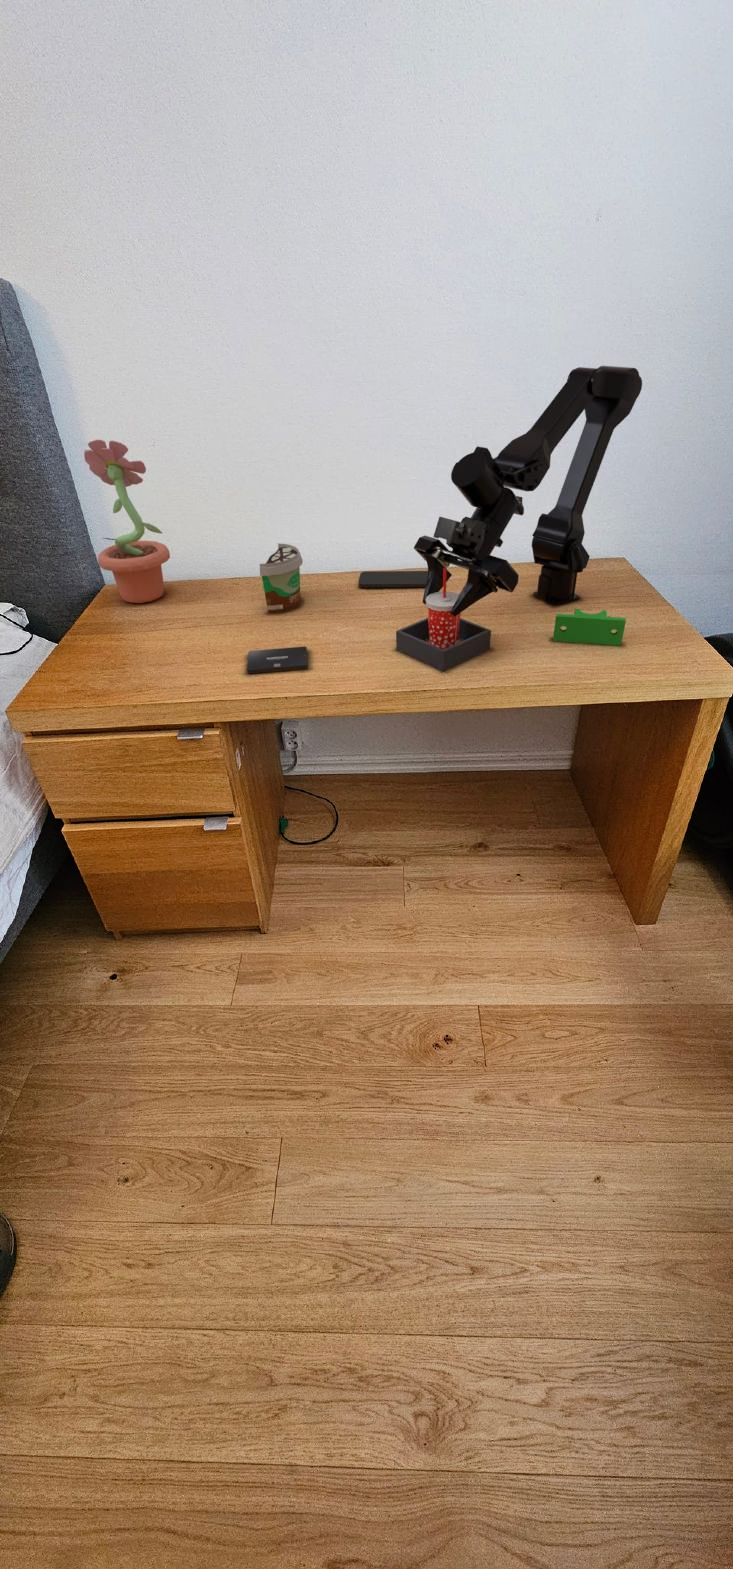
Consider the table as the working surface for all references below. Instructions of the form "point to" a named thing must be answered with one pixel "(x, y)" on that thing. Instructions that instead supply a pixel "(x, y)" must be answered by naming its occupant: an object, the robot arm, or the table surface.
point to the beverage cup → (442, 617)
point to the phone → (393, 579)
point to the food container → (282, 579)
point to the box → (414, 646)
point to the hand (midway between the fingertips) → (438, 609)
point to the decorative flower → (130, 557)
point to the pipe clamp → (589, 628)
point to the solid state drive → (277, 659)
